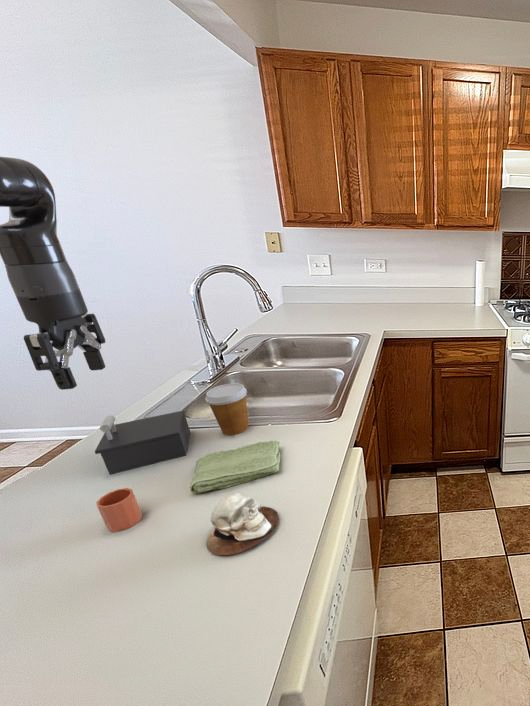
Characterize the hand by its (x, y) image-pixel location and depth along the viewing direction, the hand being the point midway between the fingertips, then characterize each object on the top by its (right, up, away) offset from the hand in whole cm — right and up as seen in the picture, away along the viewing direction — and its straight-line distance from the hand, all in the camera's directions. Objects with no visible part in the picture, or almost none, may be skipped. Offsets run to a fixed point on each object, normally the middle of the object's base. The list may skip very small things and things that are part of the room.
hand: (84, 378), depth 72 cm
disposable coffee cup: (+5, -16, +37) cm, 41 cm away
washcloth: (+16, -22, +21) cm, 34 cm away
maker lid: (-10, -14, +25) cm, 31 cm away
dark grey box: (-10, -20, +27) cm, 35 cm away
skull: (+27, -29, +3) cm, 40 cm away
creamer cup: (+3, -28, +5) cm, 29 cm away
